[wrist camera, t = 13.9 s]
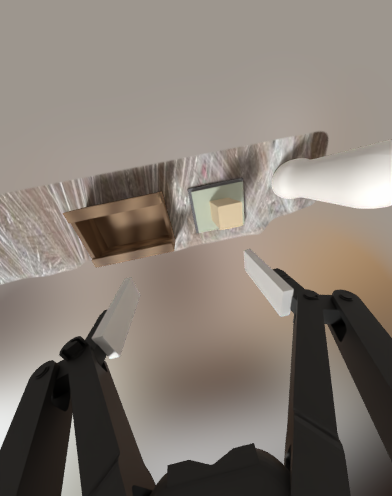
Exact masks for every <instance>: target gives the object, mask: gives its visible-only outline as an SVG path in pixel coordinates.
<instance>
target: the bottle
mask: <svg viewBox="0 0 392 496" xmlns="http://www.w3.org/2000/svg"><path fill="white" fill-rule="evenodd" d="M272 189H273V191H274V193H275V194H276V195H278V196H279V197H282V198H287V199H294V198H298V197H303V198H308V199H313V200H318V201H323V202H328V203H333V204H338V205H343V206H348V207H353V208H360V209H372V208H382V207H388V206H391V205H392V139H391V140H387V141H382V142H378V143H374V144H370V145H367V146H363V147H359V148H355V149H351V150H347V151H343V152H339V153H336V154H331V155H328V156H324V157H320V158H316V159H311V160H309V159H307V158H297V159H293V160H290V161H287V162H285V163H284V164H282V165H281V166H280V167H279V168H278V169H277V170H276V172H275V173H274V176H273V178H272Z"/></svg>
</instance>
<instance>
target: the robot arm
mask: <svg viewBox="0 0 392 496" xmlns="http://www.w3.org/2000/svg"><path fill="white" fill-rule="evenodd" d="M244 264H245V270H246V272H247V273H248V275H249V276H250V277H251V279H252V280H253V281H254V282H255V284H256V285H257V286H258V288H259V289H260V291H261V292H262V293H263V294H264V296H265V297H266V298H267V300H268V301H269V302H270V304H271V305H272V306H273V308H274V309H275V310H276V311H277V313H278V314H279V315H280V317H283V316H287V315H289V314H290V310H291V311H292V312H293V313H294V319H293V323H294V324H293V341H292V357H291V373H290V390H289V406H288V423H287V434H286V443H285V458H284V465H283V464H282V463H281V462H280V461H279V460H278V459H276V458H275V457H274V456H273V455H271V454H269V453H268V452H266V451H263V450H260V449H257V448H255V445H254V443H252V444H249V445H245V446H241V447H237V448H233V449H232V450H231V451H229V452H228V453H227V454H226V455H224V456H223V457H222V458H221V459H220V460H218V461H217V462H216V463H215V464H213V465H209V464H204V463H200V462H196V461H191V460H187V461H183V462H179V463H175V464H171V465H168V469H167V473H166V474H165V475H164V476H163V477H162V478H161V480H160V481H159V482H158V483H157V485H155V482H154V480H153V478H152V476H151V474H150V472H149V471H148V469H147V468H146V466H145V464H144V462H143V459H142V457H141V454H140V452H139V449H138V446H137V444H136V441H135V438H134V435H133V433H132V430H131V427H130V425H129V422H128V420H127V417H126V414H125V411H124V409H123V406H122V403H121V401H120V398H119V395H118V393H117V390H116V387H115V385H114V382H113V379H112V377H111V374H110V371H109V369H108V366H107V363H106V362H105V361H104V360H105V358H106V355H107V356H108V357H109V358H110V359H112V358H116V357H120V355H121V352H122V348H123V346H124V342H125V340H126V336H127V334H128V330H129V328H130V325H131V322H132V318H133V316H134V313H135V310H136V307H137V304H138V301H139V298H140V293H139V291H138V289H137V287H136V285H135V283H134V281H133V280H132V278H127V279H124V281H123V283H122V285H121V286H120V288H119V290H118V292H117V294H116V295H115V297H114V299H113V301H112V303H111V304H110V306H109V308H108V310H105V311H103V313H102V314H101V315H100V316H99V317H98V319H97V321H96V323H95V324H94V327H93V328H92V329H91V331H90V333H89V334H88V336H87V338H86V339H85V340H84V339H83V338H82V337H81V336H78V337H75V338H73V339H71V340H70V341H69V342H67V343H66V344H65V345H64V346H63V348H62V349H61V351H60V354H59V355H60V356H61V357H62V358H63V359H64V360H62V361H60V362H58V363H56V362H54V361H53V360H52V361H48V362H46V363H44V364H43V365H41V366H40V367H39V368H38V369H37V370H36V371H35V372H34V373H33V374H32V376H31V377H30V379H29V381H28V384H27V386H26V388H25V391H24V393H23V396H22V398H21V401H20V403H19V405H18V408H17V410H16V413H15V415H14V417H13V420H12V422H11V425H10V427H9V430H8V432H7V435H6V437H5V440H4V442H3V444H2V447H1V449H0V496H61V491H62V484H63V477H64V470H65V463H66V456H67V449H68V442H69V435H70V428H71V421H72V414H73V419H74V428H75V436H76V445H77V454H78V463H79V471H80V480H81V488H82V496H350V488H349V481H348V474H347V466H346V460H345V454H344V450H343V446H342V444H341V442H340V440H339V437H338V433H337V426H336V417H335V409H334V401H333V392H332V384H331V376H330V367H329V359H328V350H327V342H326V334H325V325H324V324H327V325H328V327H329V329H330V331H331V333H332V335H333V337H334V340H335V342H336V344H337V346H338V348H339V350H340V352H341V355H342V357H343V359H344V361H345V363H346V365H347V367H348V369H349V372H350V374H351V376H352V378H353V380H354V382H355V384H356V387H357V389H358V391H359V393H360V395H361V397H362V399H363V402H364V404H365V406H366V408H367V410H368V412H369V414H370V416H371V419H372V421H373V423H374V425H375V427H376V429H377V431H378V434H379V436H380V438H381V440H382V442H383V444H384V446H385V448H386V451H387V453H388V455H389V457H390V459H391V461H392V338H391V337H390V335H389V334H388V333H387V332H386V330H385V329H384V328H383V327H382V325H381V324H380V323H379V322H378V321H377V319H376V318H375V317H374V316H373V314H372V313H371V312H370V311H369V309H368V308H367V307H366V306H365V304H364V303H363V302H362V301H361V299H360V298H359V297H358V296H357V295H355V294H353V293H351V292H349V291H346V290H335V291H334V292H333V293H332V295H318V294H317V293H316V292H314V291H311V290H306V289H304V288H303V287H302V286H300V285H299V284H298V283H297V282H296V281H295V280H293V279H292V278H291V277H290V276H288V275H287V274H286V273H285V272H284V271H282V270H280V269H278V268H277V269H271V268H270V267H269V266H268V265H267V264H266V263H265V262H264V261H263V260H262V259H261V258H259V257H258V256H257V255H256V254H255V253H254V252H253V251H252V250H251V249H247V250H244Z"/></svg>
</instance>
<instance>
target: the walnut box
mask: <svg viewBox="0 0 392 496" xmlns="http://www.w3.org/2000/svg"><path fill="white" fill-rule="evenodd" d="M63 215H64V216H65V218H66V220H67V221H68V223H71V225H72V226H73V228H74V230H75V231H76V233H77V235H78V236H79V238H80V240H81V241H82V243H83V245H84V246H85V248H86V250H87V251H88V253H89V255H90V256H91V258H92V260H91V261H92V262H93V263H94V265H95V267H96V268H97V267H101V266H106V265H111V264H116V263H120V262H125V261H130V260H135V259H139V258H144V257H148V256H153V255H158V254H163V253H168V252H172V251H174V247H175V237H174V233H173V229H172V226H171V222H170V219H169V215H168V211H167V208H166V204H165V200H164V197H163V193H162V191H161V192H156V193H151V194H147V195H142V196H137V197H132V198H127V199H123V200H118V201H113V202H108V203H104V204H99V205H94V206H89V207H85V208H81V209H77V210H73V211H69V212H65V213H63Z"/></svg>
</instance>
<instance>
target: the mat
mask: <svg viewBox="0 0 392 496" xmlns="http://www.w3.org/2000/svg"><path fill="white" fill-rule="evenodd" d="M237 182H243V178H239V179H234V180H229V181H224V182H220V183H215V184H210V185H205V186H200V187H196V188H191V189H188V192H189V197H190V202H191V208H192V213H193V218H194V223H195V228H196V233H199V231H198V226H197V221H196V215H195V210H194V205H193V199H192V194H191V192H194V191H198V190H203V189H208V188H213V187H218V186H222V185H227V184H232V183H237Z"/></svg>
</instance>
